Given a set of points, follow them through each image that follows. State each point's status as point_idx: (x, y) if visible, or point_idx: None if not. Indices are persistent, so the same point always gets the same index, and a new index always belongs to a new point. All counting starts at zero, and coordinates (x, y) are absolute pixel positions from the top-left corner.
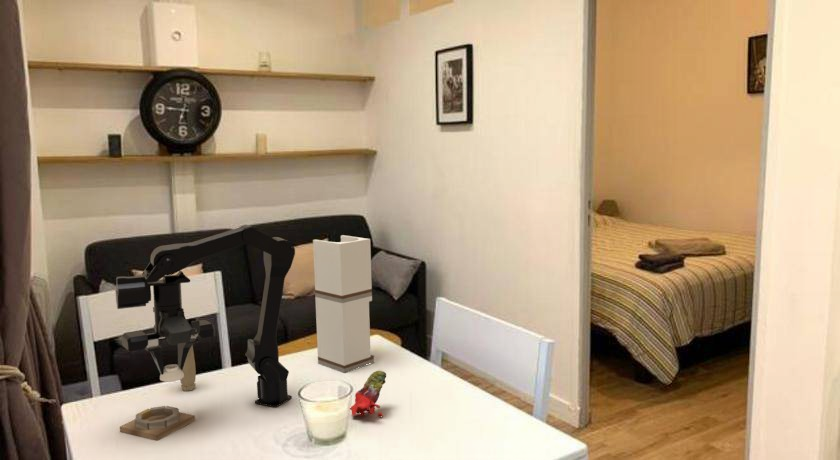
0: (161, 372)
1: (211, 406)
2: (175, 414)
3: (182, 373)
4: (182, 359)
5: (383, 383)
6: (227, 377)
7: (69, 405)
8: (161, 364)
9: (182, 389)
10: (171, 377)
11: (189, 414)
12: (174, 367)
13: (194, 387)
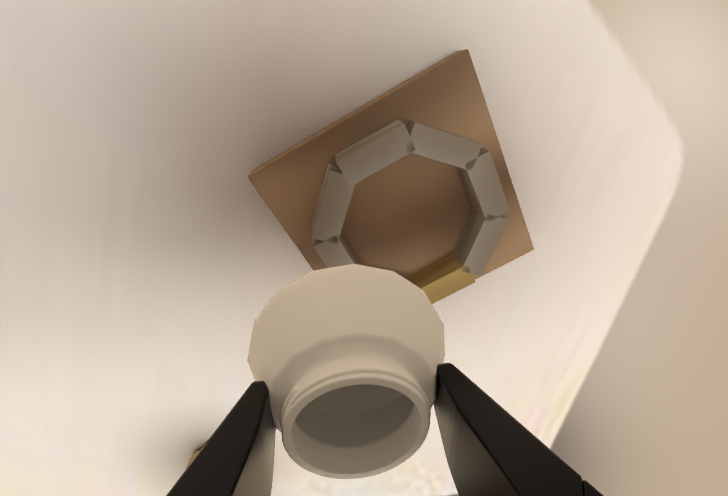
0: (460, 375)
1: (155, 277)
2: (345, 173)
3: (262, 340)
4: (220, 489)
5: None
6: (60, 489)
7: None
8: (505, 443)
9: None
10: (382, 292)
11: (268, 202)
12: (314, 438)
13: (194, 454)
